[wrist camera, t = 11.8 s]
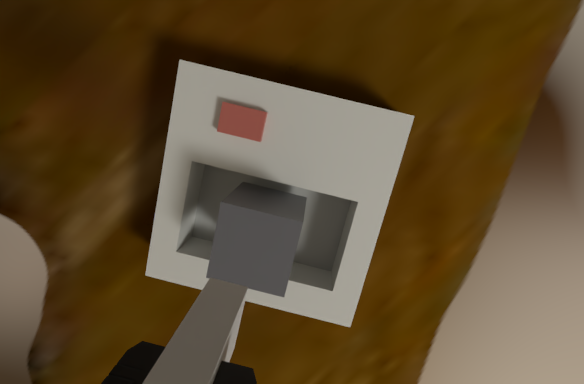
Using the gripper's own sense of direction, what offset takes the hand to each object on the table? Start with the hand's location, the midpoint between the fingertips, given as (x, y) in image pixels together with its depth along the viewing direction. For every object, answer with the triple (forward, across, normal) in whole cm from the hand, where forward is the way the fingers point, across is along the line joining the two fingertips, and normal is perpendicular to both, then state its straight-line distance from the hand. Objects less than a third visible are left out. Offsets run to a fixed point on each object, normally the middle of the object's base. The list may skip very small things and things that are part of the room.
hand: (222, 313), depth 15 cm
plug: (+16, 0, -1) cm, 16 cm away
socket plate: (+17, 0, +1) cm, 17 cm away
